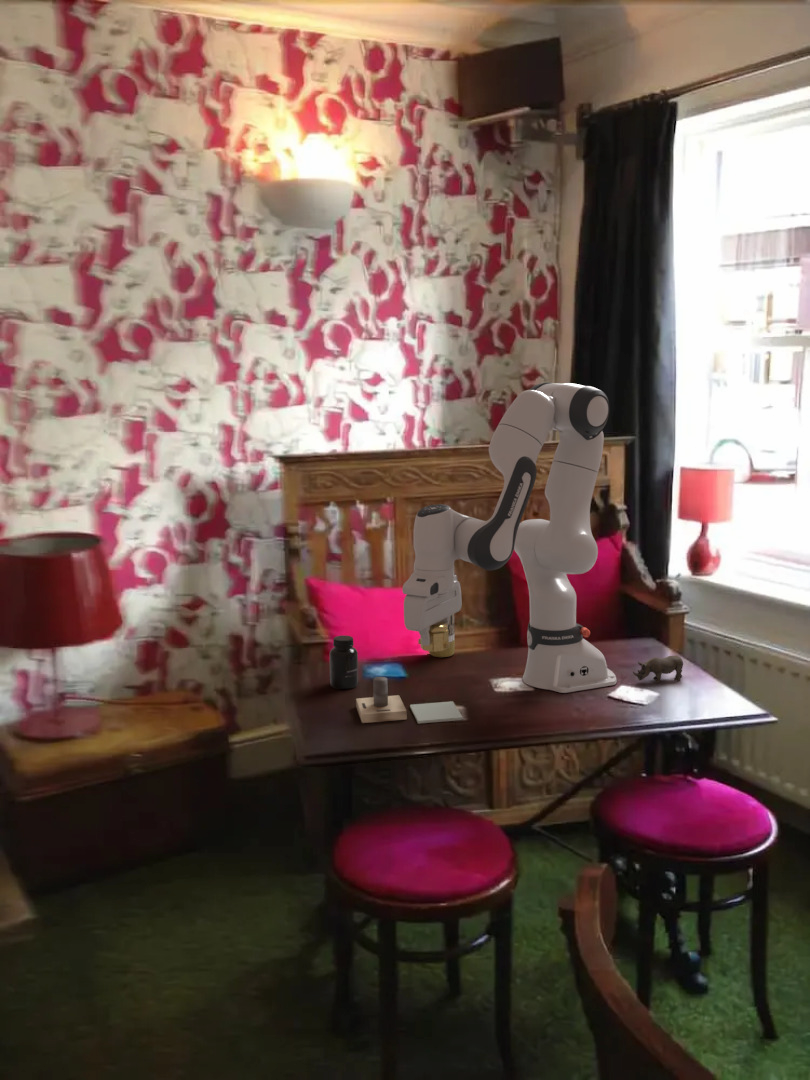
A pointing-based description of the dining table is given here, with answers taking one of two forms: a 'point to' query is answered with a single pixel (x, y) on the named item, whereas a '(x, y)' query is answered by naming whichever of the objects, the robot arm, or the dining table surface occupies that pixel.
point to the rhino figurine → (661, 667)
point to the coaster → (436, 712)
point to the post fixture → (381, 704)
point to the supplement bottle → (343, 663)
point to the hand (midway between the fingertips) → (434, 640)
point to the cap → (438, 638)
